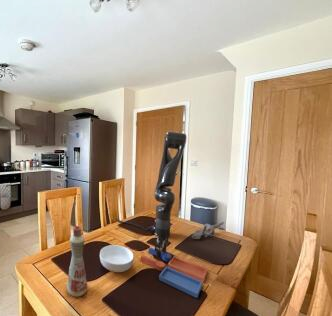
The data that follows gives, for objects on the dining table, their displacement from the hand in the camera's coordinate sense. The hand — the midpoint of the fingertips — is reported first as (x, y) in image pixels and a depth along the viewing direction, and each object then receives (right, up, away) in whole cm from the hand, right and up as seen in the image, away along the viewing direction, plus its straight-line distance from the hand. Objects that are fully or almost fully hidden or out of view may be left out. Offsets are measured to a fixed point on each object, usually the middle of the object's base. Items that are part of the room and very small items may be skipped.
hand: (161, 254), depth 108 cm
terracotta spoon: (-7, -2, -7) cm, 10 cm away
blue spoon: (-1, -2, +1) cm, 2 cm away
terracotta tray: (+9, -3, -10) cm, 14 cm away
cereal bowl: (-26, -2, -9) cm, 28 cm away
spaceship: (+43, -1, +28) cm, 51 cm away
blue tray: (+2, -3, -19) cm, 20 cm away
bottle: (-45, -3, -25) cm, 51 cm away
